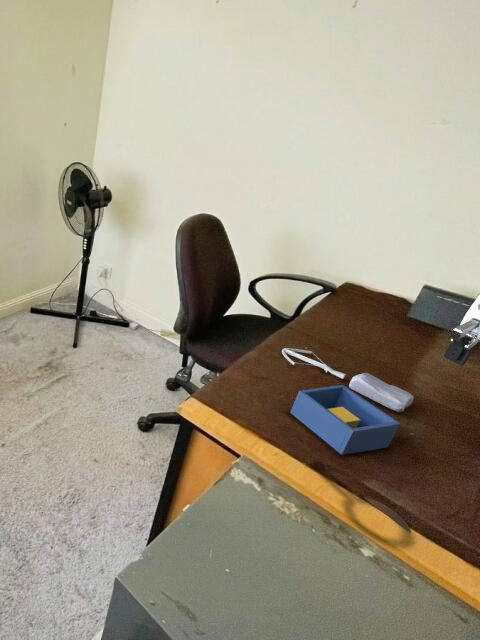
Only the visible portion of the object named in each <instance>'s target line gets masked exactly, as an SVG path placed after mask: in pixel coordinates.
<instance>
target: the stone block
mask: <svg viewBox="0 0 480 640" xmlns="http://www.w3.org/2000/svg"><path fill="white" fill-rule="evenodd" d="M348 387H349V389H350V390H351V391H353V392H355V393H357V394H360V395H362V396H364V397H366V398H367V399H370V400H372V401H374V402H376V403H378V404H381V405H382V406H384V407H385V408H387V409H389V410H392V411H395V412H397V413H403V412H404V411H405V409H406V408H408V407H410V406H411V405H412V403H413V401H414V398H415V397H414V395H412V394H411V393H410V392H408V391H407V390H404V389H402V388H400V387H398V386H396V385H391V384H388V383H387V382H385V381H383V380H381V379H380V378H378V377H376V376H374V375H372V374H370V373H368V372H362V373H361V374H356V375H354V376H353V377H352V378H351V379H350V382H349V385H348Z"/></svg>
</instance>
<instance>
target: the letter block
mask: <svg viewBox="0 0 480 640" xmlns="http://www.w3.org/2000/svg"><path fill="white" fill-rule="evenodd" d="M327 410H328V411H330V412H331V413H332V414H334V415H335V416H336V417H338V418H339V419H340V420H342V421H343V422H344V423H346V424H347V425H348V426H350V427H351V428H352V429H353V428H357V426H358V424H359V422H360V419H359V418H357V417H356V416H355V415H353V414H352V413H350V412H349V411H348V410H346V409H345V408H343V407H337V408H330V409H327Z"/></svg>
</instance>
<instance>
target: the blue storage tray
mask: <svg viewBox="0 0 480 640" xmlns="http://www.w3.org/2000/svg"><path fill="white" fill-rule="evenodd" d="M337 407H343V408H345V409H346V410H348V411H349V412H350V413H352V414H353V415H355V416H356V417H357V418H359V419H360V422H359V424H358V426H357V428H353V429H352V428H351V427H350V426H348V425H347V424H346V423H344V422H343V421H342V420H340V419H339V418H338V417H336V416H335V415H334V414H332V413H331V412H330V411H328V410H327V409H330V408H337ZM289 413H290V414H291V415H292V416H293V417H295V418H296V419H297V420H298V421H300V422H301V423H302V424H304V425H305V426H306V427H307V428H308V429H310V431H312V432H313V433H314V434H315V435H317V436H318V437H319V438H320V439H322V440H323V441H324V442H325V443H327V444H328V445H329V446H330V447H331V448H332V449H334V450H335V451H336V452H338V453H339V454H340V455H349V454H356V453H364V452H369V451H375V450H381V449H385V448H387V449H388V448H389V446H390V445H391V442H392V440H393V439H394V437H395V435H397V432H398V430H399V428H400V427H401V425H402V423H401V422H399V421H398V420H396V419H395V418H393V417H392V416H390V415H389V414H387V413H385V412H384V411H383V410H381V409H380V408H378V407H377V406H375V405H374V404H372V403H370V401H368V400H366V399H365V398H363V397H362V396H360V395H359V394H358V393H357V392H355V391H354V390H352V389H351V388H348V387H347V386H345V385H343V384H338V385H331V386H324V387H317V388H310V389H309V388H308V389H303V390H299V391H298V393H297V395H296V397H295V400H294V402H293V404H292V406H291V409H290V411H289Z"/></svg>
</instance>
